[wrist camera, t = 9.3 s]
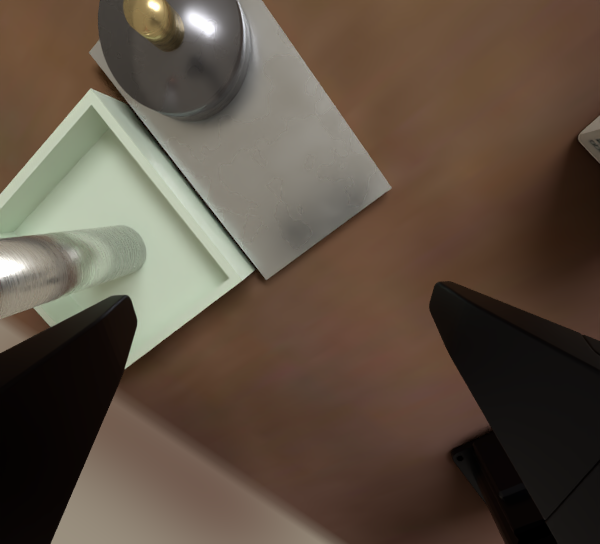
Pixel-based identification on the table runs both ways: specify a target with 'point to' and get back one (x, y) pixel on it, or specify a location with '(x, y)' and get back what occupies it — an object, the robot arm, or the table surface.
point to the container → (591, 138)
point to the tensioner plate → (239, 119)
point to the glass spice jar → (64, 264)
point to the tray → (125, 218)
